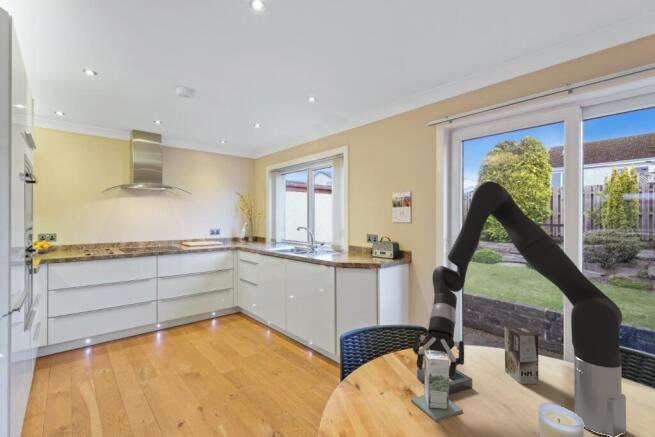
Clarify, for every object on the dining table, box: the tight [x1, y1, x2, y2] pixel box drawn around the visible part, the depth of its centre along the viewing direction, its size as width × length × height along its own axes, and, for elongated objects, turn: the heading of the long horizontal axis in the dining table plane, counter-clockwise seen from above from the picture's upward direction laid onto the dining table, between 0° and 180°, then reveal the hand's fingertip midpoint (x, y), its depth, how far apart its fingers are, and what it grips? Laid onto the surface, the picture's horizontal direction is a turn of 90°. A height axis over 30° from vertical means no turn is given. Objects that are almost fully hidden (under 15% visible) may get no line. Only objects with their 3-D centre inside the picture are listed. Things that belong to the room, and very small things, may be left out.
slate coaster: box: [410, 394, 464, 422], centre depth 87 cm, size 10×10×1 cm
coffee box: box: [503, 325, 540, 385], centre depth 103 cm, size 9×6×16 cm
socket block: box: [416, 365, 473, 396], centre depth 99 cm, size 12×12×3 cm
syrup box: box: [423, 350, 450, 409], centre depth 87 cm, size 6×6×14 cm
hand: (435, 373), depth 86 cm, fingers open, 8 cm apart
